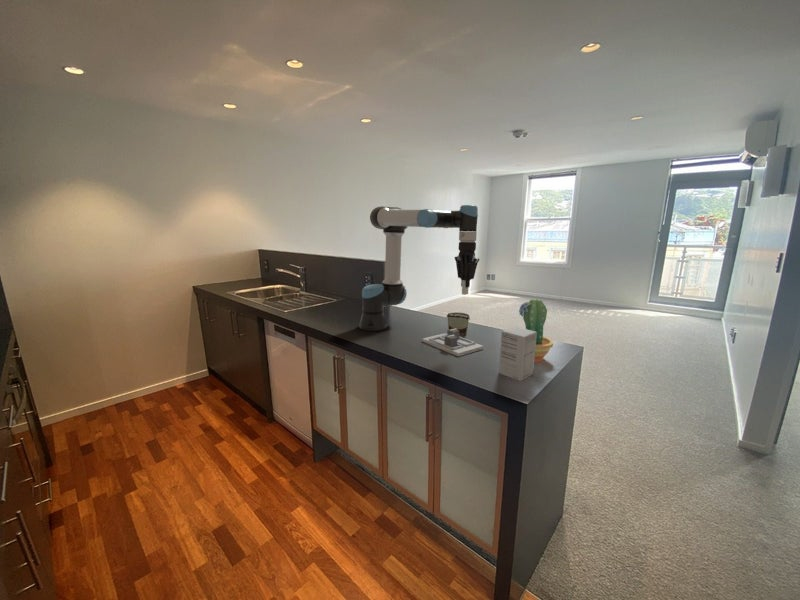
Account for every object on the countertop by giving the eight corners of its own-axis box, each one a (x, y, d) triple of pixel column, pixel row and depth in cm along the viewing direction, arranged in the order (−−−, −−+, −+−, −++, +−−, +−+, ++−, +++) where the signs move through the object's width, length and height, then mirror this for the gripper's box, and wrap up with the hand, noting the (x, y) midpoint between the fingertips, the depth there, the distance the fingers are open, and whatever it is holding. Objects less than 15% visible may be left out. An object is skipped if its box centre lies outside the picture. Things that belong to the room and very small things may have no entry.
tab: (444, 344, 152) (444, 335, 151) (450, 343, 154) (451, 333, 153) (450, 347, 149) (450, 337, 148) (456, 345, 151) (457, 335, 150)
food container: (471, 331, 178) (472, 313, 176) (468, 335, 172) (469, 316, 170) (449, 329, 183) (449, 311, 181) (445, 332, 177) (446, 313, 175)
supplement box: (511, 366, 132) (515, 325, 129) (533, 374, 125) (537, 331, 122) (497, 373, 126) (500, 330, 123) (520, 381, 119) (524, 336, 116)
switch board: (422, 341, 162) (422, 336, 161) (446, 335, 171) (446, 331, 170) (458, 356, 143) (458, 351, 142) (483, 349, 152) (483, 344, 151)
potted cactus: (520, 348, 153) (525, 295, 148) (556, 356, 143) (562, 299, 138) (507, 358, 141) (512, 300, 136) (545, 368, 131) (552, 306, 126)
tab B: (447, 338, 162) (447, 328, 161) (453, 336, 164) (453, 327, 163) (453, 340, 158) (453, 330, 158) (459, 338, 161) (459, 329, 160)
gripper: (450, 241, 150) (448, 292, 155) (472, 242, 140) (470, 297, 144) (462, 241, 154) (460, 291, 159) (484, 241, 144) (481, 295, 149)
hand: (464, 294), depth 152 cm, fingers closed
